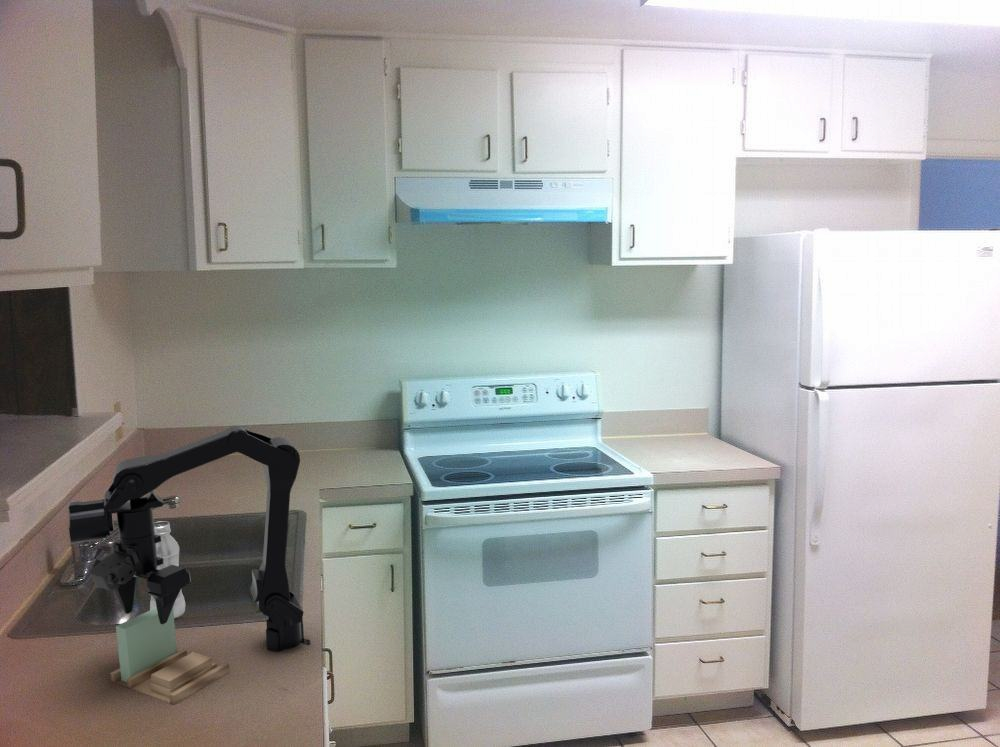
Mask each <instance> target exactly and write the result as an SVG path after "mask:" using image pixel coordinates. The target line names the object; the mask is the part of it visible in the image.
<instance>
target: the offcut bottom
mask: <svg viewBox="0 0 1000 747" xmlns="http://www.w3.org/2000/svg"><path fill="white" fill-rule="evenodd" d="M216 667H218V665H217V663H216V662H213V661H212V666H211V667H209V668H208V669H206V670H204V671H202V672H200V673H199V674H197V675H195V676H193V677H192V678H190V679H188V680H186V681H185V682H183V683H181V684H179V685H178V686H176V687H174V688H172V689H171V690H170V689H167V688H164V687H162V686H159V685H156V684H153V683H152V682H151V683H150V687H151V691H152V692H155V693H158V694H160V695H163V696H166V697H169V698H170V695H169V694H171V693H173V692H174V691H176V690H178V689H180V688H181V687H183V686H185V685H187V684H188V683H190V682H192V681H194V680H195V679H197V678H199V677H201V676H202V675H204V674H206V673H208V672H209V671H211V670H213V669H215V668H216Z"/></svg>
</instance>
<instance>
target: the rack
mask: <svg viewBox="0 0 1000 747" xmlns="http://www.w3.org/2000/svg"><path fill="white" fill-rule="evenodd" d="M187 655H188V650H187V649H185V648H183V649H181V650H179V651H177V653H175V654H173V655H171V656H169V657H167V658H165V659H163V660H161V661H160V662H158V663H156V664H154V665H152V666H150V667H148V668H146V669H144V670H143V671H141V672H139V673H137V674H135V675H133V676H131V677H129V678H127V682H125V681H122V680H121V671H120V667H119V668H117V669H115V670H113V671H112V672H110V675H109V676H110V681H111V682H112V683H115V684H118V685H120V686H124V687H126V688H128V689H131V690H133V691H137V692H140V693H142V694H146V695H148V696H150V697H153V698H156V699H158V700H161V701H164V702H167V703H168V704H172V705H177V704H178V703H180V702H182V701H183V700H185V699H186V698H189V697H190V696H191V695H193V694H194V693H197V692H198V691H199V690H202V689H203V688H205V687H207V686H208V685H210V684H212V683H214V682H215V681H217V680H218V679H220V678H222V677H224V676H226V675H227V674H229V673H230V671H231V669H230V663H228V662H223V663H222V664H220V665H217V667H216V668H215V669H213V670H211V671H209V672H208V673H206V674H204V675H202V676H201V677H199V678H197V679H195V680H194V681H192V682H190V683H188V684H187V685H185V686H183V687H181V688H180V689H178V690H176V691H174V692H173V693H171V694H169V695H170V698H169V697H166V696H163V695H160V694H158V693H155V692H152V691H151V687H150V683H151V682H152V680H151V674H153V673H155V672H157V671H159V670H161V669H163V668H164V667H166V666H168V665H170V664H172V663H174V662H176V661H177V660H179V659H181V658H183V657H185V656H187Z"/></svg>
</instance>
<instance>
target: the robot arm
mask: <svg viewBox="0 0 1000 747" xmlns="http://www.w3.org/2000/svg"><path fill="white" fill-rule="evenodd" d="M235 453H239V454H241V455H244V456H246V457H248V458H250V459H252V460H254V461H256V462H257V463H260V464H262V465H263V470H264V476H265V481H266V482H265V483H266V488H267V490H266V492H267V493H266V504H265V505H266V506H265V522H264V537H263V538H264V539H263V552H262V562H261V565H260V567H259V569H254V568H253V569H252V568H251V577H252V582H251V585H250V587H249V590H250V592H251V595H252V597H253V598H252V599H253V601H254V603H256V604H257V607H258V609H259V611H260V612H261V614H263V615H264V616H266V617H268V619H266V621H265V622H266V629H265V639H266V650H269V651H271V652H275V653H280V652H282V651H284V650H290V649H293V648H296V647H298V646H299V645H300V644H303V645H305V646H308V645H310V644H311V640H310V639H308V638H305V635H304V634H305V633H304V621H303V618H304V617H303V616H304V613H305V612H304V610H303V608H302V606H301V604H300V602H299V600H298V598H297V595H296V594H295V593H294V592H292V591H291V590H290V584H289V579H288V574H287V569H286V561H287V558H286V557H287V545H288V528H289V514H290V501H291V491H292V488H293V486H294V483H295V482H296V479H297V476H298V472H299V467H300V464H301V458H300V457H301V455H300V453H299V451H298V450H297V448H296V447H295V446H294V444H292V442H290V440H288V439H287V438H285V437H280V436H278V437H274V438H272V437H269V436H267V435H264V434H261V433H258V432H256V431H255V432H254V431H251V430H249V429H247V428H244V427H243V426H241V425H232V426H230V427H229V428H228V427H227V429H226V430H223V431H219V432H217V433H214V434H211V435H210V436H207V437H204V438H202V439H198V440H197V441H194V442H191V443H189V444H186V445H184V446H180V447H177V448H175V449H172V450H170V451H167V452H165V453H160V454H151V455H142V456H138V457H133V458H127V459H125V460H123V461H121V462H119V463H118V464H117V465H116V466H115V469H114V471H113V475H112V483H111V484H110V486H109V488H108V489H107V491H105V494H103V495H104V496H103V499H95V500H88V501H73V502H69V503H68V512H69V513H68V516H69V525H68V533H69V539H70V540H69V541H70V544H71V545H73V544H78V543H80V544H81V543H86V542H93V541H99V540H105V539H108V537H109V536H111V532H115V524H114V514H116V520H117V528H118V539H119V540H116V541H114V542H113V543H114V544H113V547H112V549H113V551H112V553H110V554H107V555H105V556H102V557H99V558H97V559H96V560H95V562H94V564H93V565H92V568H91V569H90V570H89V575H90V577H91V579H92V581H93V583H94V585H95V586H96V588H98V589H104V590H106V591H108V592H112V591H113V592H114V594H115V595H116V597H117V599H118V601H119V604H120V605H121V607H122V610H123V612H124V614H127V615H128V614H130V613H132V612H133V607H134V602H135V601H134V599H135V592H136V582H137V577H138V578H141V579H145V580H146V585H147V586H146V587H147V588H148V589H149V591H148V592H147V594H148V595H149V596H150V597H151V596H152V597H154V598H155V601H156V607H157V612H158V617H159V621H160V624H165V623H166V622H167V620H168V618H169V615H170V613H171V610H172V608H173V605H174V603H175V600H176V598H177V596H178V594H179V592H180V590H182V589H183V588H185V587H186V586H187V585H189V584H191V582H192V580H191V571H190V570H189V569H188V568H185V567H183V566H175V565H170V566H168V567H165V568H163V569H161V570H158V569H157V566H159V565H161V564H163V558H160V557H157V549H156V543H158V542H160V541H161V536H159V535H155V529H154V523H155V520H154V511H153V509H154V508H161V507H163V506H164V499H163V497H162V496H160V495H158V494H157V493H155V491H154V490H156V489H158V488H159V487H160V486H161V485H163V484H164V483H165V482H167V481H168V480H170V479H171V478H173V477H175V476H178V475H180V474H183V473H185V472H186V473H187V472H188V471H191V470H193V469H196V468H198V467H201V466H203V465H207V464H209V463H212V462H214V461H216V460H220V459H222V458H225V457H227V456H229V455H232V454H235Z"/></svg>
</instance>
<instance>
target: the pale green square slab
mask: <svg viewBox="0 0 1000 747" xmlns="http://www.w3.org/2000/svg"><path fill="white" fill-rule="evenodd" d="M175 625H176V624H175V619H174V612H173V608H172V610H171V613H170V615H169V618H168V620H167V622H166V623H165V624H160V621H159V617H158V612H157V607H156V608H154V609H152V610H150V609H149V610H148V611H146V612H144V613H141V614H139V615H137V616H135V617H132V618H130V619H129V620H126V621H124V622H122V623H120V624H118V625H116V626H115V632H116V642H117V650H118V652H117V653H118V660H119V661H118V662H119V668H120V671H121V680H122V681H125V682H127V678H129V677H131V676H133V675H135V674H137V673H139V672H141V671H143V670H144V669H146V668H148V667H150V666H152V665H154V664H156V663H158V662H160V661H161V660H163V659H165V658H167V657H169V656H171V655H173V654H175V653H177V652H178V644H177V634H176V626H175Z"/></svg>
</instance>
